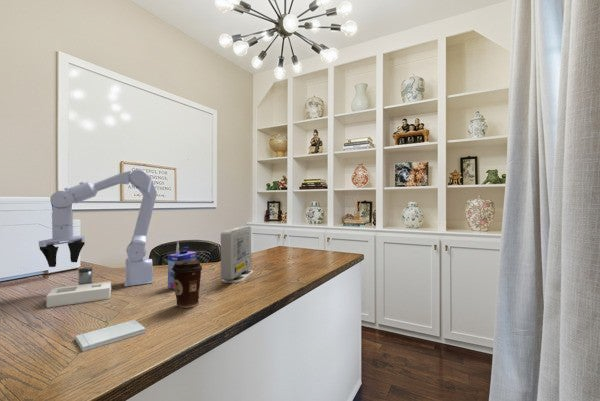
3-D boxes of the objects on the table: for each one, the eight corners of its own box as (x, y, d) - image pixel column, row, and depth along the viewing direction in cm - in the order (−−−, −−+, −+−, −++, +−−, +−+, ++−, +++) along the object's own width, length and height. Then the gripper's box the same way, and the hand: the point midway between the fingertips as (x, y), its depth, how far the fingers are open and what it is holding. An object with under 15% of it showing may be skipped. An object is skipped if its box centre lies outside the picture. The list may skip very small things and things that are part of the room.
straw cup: (178, 290, 106) (178, 249, 106) (166, 288, 108) (166, 248, 108) (197, 283, 115) (197, 245, 115) (186, 281, 117) (186, 244, 117)
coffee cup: (173, 311, 85) (172, 266, 85) (170, 303, 92) (170, 261, 92) (204, 306, 89) (204, 262, 89) (200, 298, 96) (199, 258, 97)
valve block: (111, 290, 106) (111, 281, 106) (109, 298, 98) (109, 287, 98) (53, 298, 99) (53, 288, 99) (46, 307, 90) (46, 296, 90)
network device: (238, 269, 138) (238, 226, 138) (257, 269, 136) (256, 226, 136) (215, 285, 112) (214, 231, 112) (237, 285, 111) (237, 231, 111)
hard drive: (134, 319, 77) (75, 334, 68) (145, 328, 72) (82, 346, 63) (134, 325, 77) (75, 342, 68) (145, 334, 72) (82, 354, 63)
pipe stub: (92, 288, 110) (92, 266, 110) (91, 291, 106) (91, 268, 106) (79, 290, 108) (79, 268, 108) (77, 293, 104) (77, 270, 104)
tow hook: (178, 264, 153) (168, 267, 144) (179, 239, 154) (168, 240, 145) (194, 264, 152) (184, 268, 143) (194, 239, 153) (185, 240, 144)
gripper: (73, 223, 113) (74, 259, 113) (31, 227, 99) (32, 268, 99) (88, 223, 111) (89, 260, 111) (47, 227, 97) (48, 269, 97)
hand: (63, 264), depth 105 cm, fingers open, 7 cm apart
